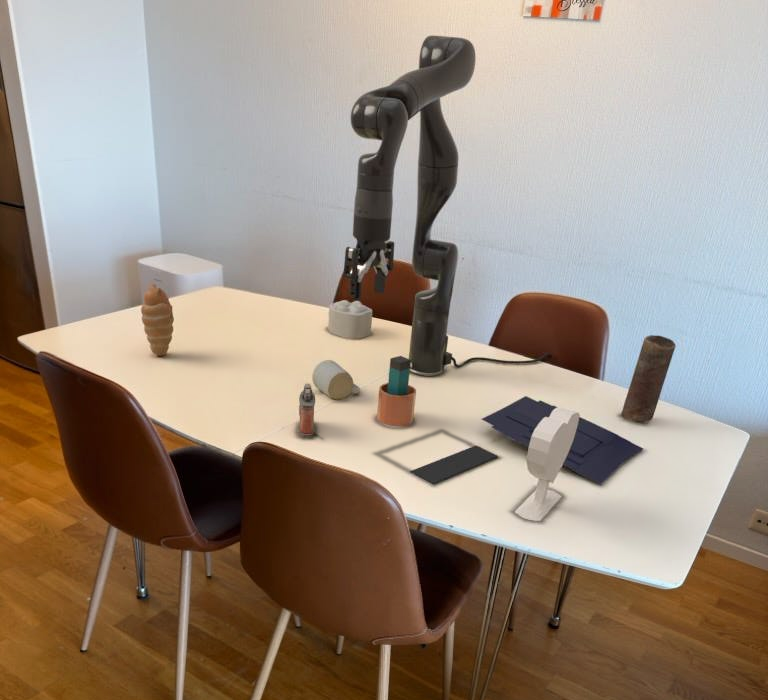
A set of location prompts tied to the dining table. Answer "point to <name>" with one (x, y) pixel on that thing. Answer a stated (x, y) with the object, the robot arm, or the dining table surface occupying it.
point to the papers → (590, 444)
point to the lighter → (306, 412)
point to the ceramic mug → (333, 380)
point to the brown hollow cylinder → (648, 378)
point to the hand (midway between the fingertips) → (367, 296)
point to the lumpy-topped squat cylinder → (350, 319)
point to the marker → (399, 376)
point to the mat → (454, 464)
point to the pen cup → (396, 407)
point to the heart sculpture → (548, 460)
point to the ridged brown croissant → (157, 320)
